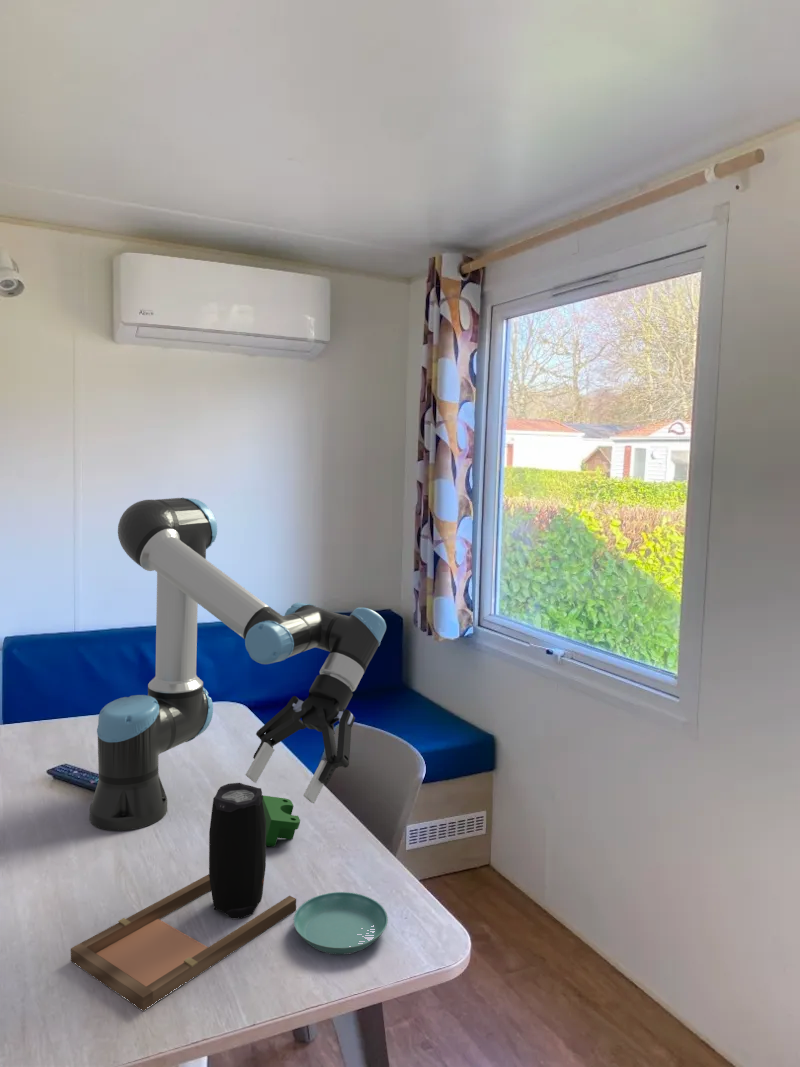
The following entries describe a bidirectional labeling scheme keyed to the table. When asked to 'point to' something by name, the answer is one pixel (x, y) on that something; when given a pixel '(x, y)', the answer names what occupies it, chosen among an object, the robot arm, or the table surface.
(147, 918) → the rail track
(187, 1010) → the table surface
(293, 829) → the clamp
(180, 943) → the flat panel
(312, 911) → the saucer
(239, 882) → the portable speaker
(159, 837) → the table surface
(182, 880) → the table surface
